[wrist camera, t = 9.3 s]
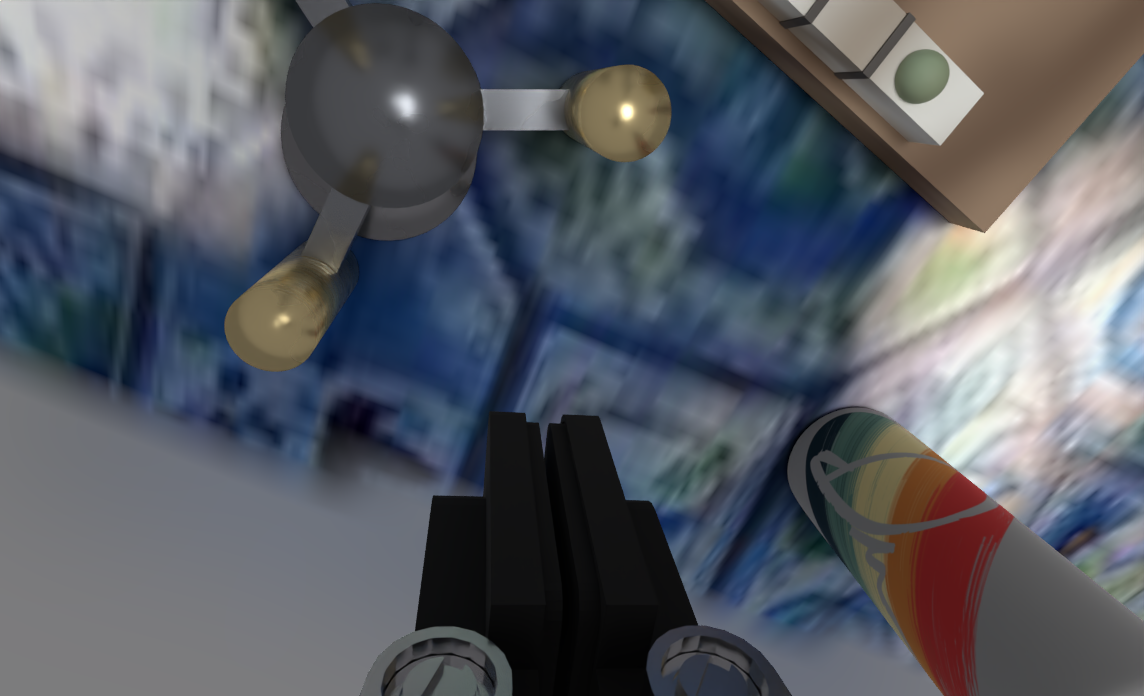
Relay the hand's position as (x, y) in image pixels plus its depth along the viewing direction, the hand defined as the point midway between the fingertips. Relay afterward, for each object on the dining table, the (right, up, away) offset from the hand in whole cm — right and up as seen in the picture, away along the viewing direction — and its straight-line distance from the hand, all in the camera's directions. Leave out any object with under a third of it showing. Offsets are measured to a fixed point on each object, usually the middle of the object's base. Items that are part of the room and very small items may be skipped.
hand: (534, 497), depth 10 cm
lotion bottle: (+13, -3, +21) cm, 25 cm away
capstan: (-6, +9, +13) cm, 17 cm away
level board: (+11, +16, +13) cm, 23 cm away
